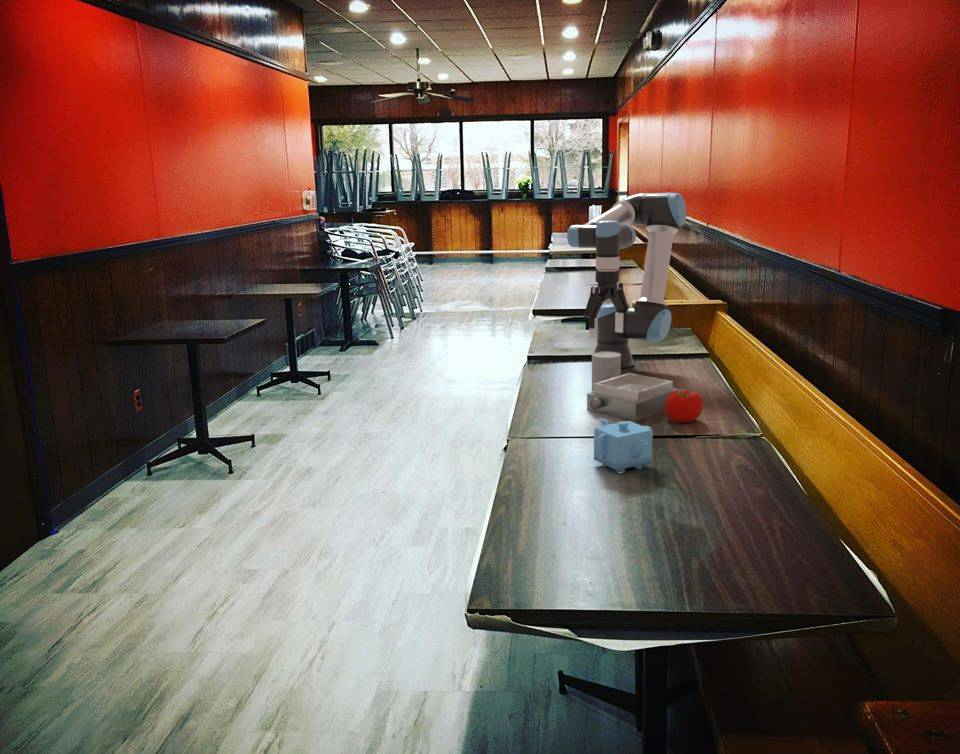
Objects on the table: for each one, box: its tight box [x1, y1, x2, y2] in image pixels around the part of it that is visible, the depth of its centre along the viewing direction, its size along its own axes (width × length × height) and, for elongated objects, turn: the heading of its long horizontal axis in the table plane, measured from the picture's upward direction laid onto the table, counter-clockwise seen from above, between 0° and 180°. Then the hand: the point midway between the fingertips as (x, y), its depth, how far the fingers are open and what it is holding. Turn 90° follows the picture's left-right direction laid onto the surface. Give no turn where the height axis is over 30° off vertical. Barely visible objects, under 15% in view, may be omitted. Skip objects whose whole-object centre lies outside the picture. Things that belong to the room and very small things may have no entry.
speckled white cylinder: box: [591, 351, 622, 392], centre depth 263 cm, size 10×10×12 cm
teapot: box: [593, 417, 653, 474], centre depth 195 cm, size 16×18×11 cm
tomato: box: [664, 389, 704, 424], centre depth 229 cm, size 11×11×9 cm
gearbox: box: [586, 372, 679, 421], centre depth 243 cm, size 25×18×8 cm
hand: (606, 335), depth 259 cm, fingers open, 13 cm apart
